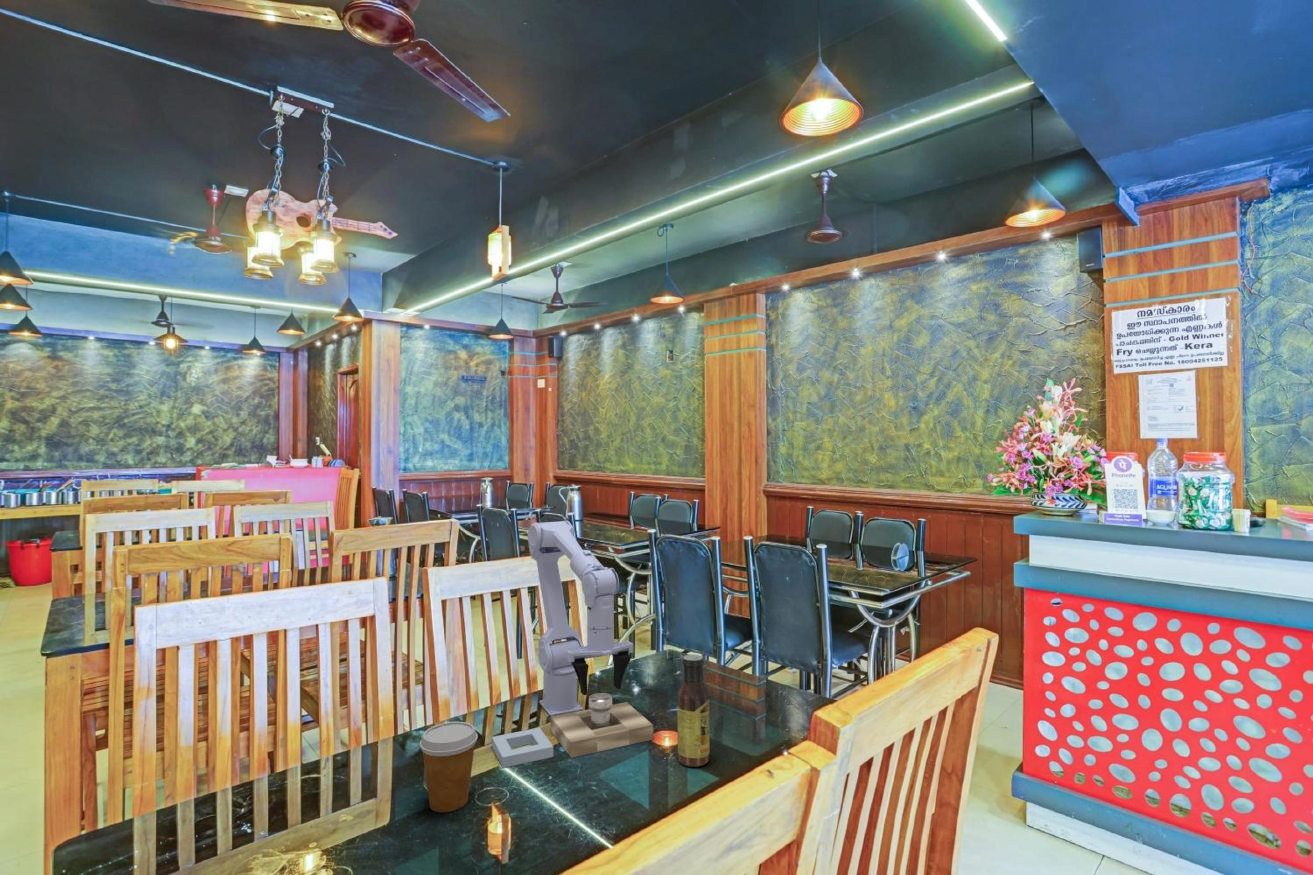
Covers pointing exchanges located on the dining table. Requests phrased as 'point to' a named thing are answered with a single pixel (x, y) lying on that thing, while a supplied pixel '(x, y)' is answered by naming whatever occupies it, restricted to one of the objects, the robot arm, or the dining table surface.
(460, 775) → the disposable coffee cup
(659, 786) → the dining table surface
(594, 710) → the steel pin
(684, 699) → the sauce bottle
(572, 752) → the dock
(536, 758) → the frame
